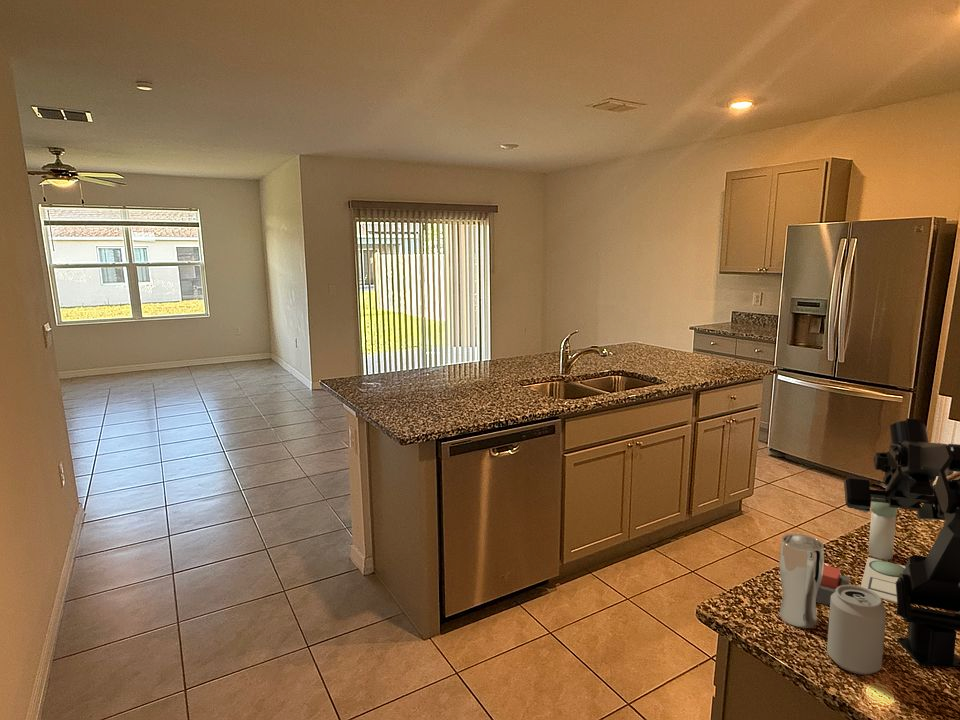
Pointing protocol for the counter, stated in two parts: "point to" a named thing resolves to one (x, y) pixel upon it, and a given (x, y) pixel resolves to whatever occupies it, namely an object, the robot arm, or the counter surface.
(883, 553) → the ball
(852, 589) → the can
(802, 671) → the counter surface
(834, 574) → the button
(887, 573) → the colouring card
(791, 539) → the beer glass
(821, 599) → the button housing
